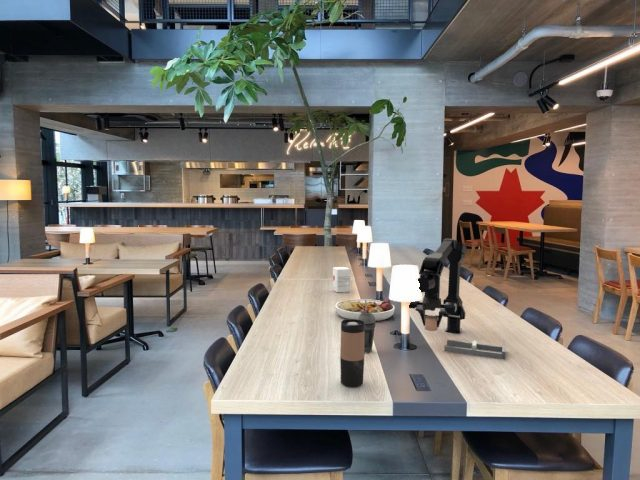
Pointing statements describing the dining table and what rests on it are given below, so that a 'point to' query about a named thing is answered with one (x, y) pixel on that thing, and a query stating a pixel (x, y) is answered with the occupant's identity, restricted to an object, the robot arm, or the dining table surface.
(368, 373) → the dining table surface
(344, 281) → the supplement box
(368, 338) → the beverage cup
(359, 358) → the travel mug
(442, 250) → the robot arm
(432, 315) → the jar
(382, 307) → the bowl
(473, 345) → the pusher plate
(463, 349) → the lane
